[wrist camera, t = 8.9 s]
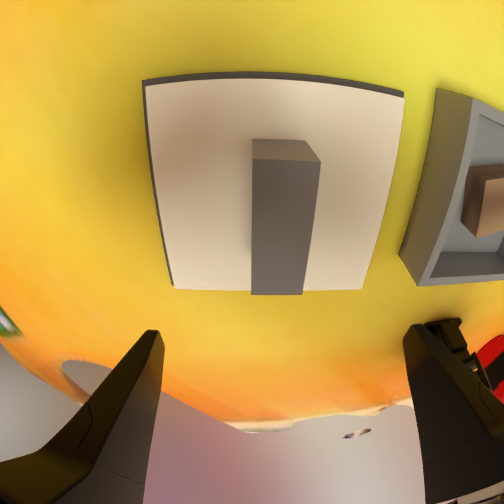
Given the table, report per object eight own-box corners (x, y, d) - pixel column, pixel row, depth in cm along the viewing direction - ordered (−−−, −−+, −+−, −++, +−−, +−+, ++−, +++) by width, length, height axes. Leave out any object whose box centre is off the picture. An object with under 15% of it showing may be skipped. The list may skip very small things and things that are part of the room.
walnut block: (496, 213, 18) (511, 227, 16) (460, 221, 19) (476, 238, 17) (503, 163, 15) (521, 175, 13) (466, 167, 16) (485, 180, 14)
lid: (357, 281, 22) (375, 326, 18) (177, 280, 22) (164, 328, 18) (397, 96, 14) (442, 110, 10) (151, 85, 14) (114, 92, 10)
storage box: (494, 255, 22) (513, 278, 18) (398, 254, 21) (417, 286, 18) (533, 135, 13) (561, 151, 10) (436, 88, 13) (472, 97, 10)
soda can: (485, 359, 37) (504, 408, 27) (467, 361, 36) (488, 415, 26) (509, 334, 32) (533, 383, 23) (494, 333, 31) (521, 390, 22)
